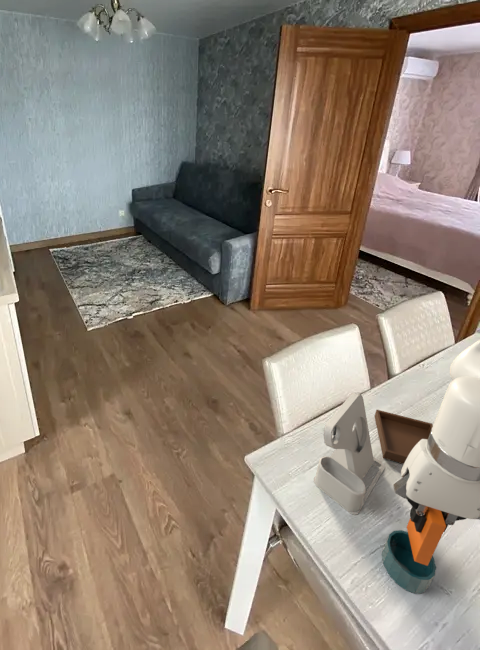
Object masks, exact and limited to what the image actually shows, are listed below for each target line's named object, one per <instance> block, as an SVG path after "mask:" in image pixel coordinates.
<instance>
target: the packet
mask: <svg viewBox="0 0 480 650" xmlns="http://www.w3.org/2000/svg"><path fill="white" fill-rule="evenodd" d="M425 514H426V518H427V520H426V522H425V524H424V527H423V529H422V531H421V532H417V531H416V529H415V525H414V522H412V521H411V518H410V517H409V520H408V523H407V525H406V532H408V535H409V540H410V544H411V548H412V553H413V557H414V561H415V562H418V563H421V564H424V565H426V566H428V564H429V562H430V560H431V558H432V556H433V555H434V554H435V552H436V549H437V548H438V545H439V543H440V541H441V539H442V536H443V535H444V533H445V532H444V530H445V528H446V524H445V521H444V518H443V515H442V512H441V511H440V510H437V509H434V508H431V507H428V508H427V511H426V513H425ZM433 557H434V556H433Z"/></svg>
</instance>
